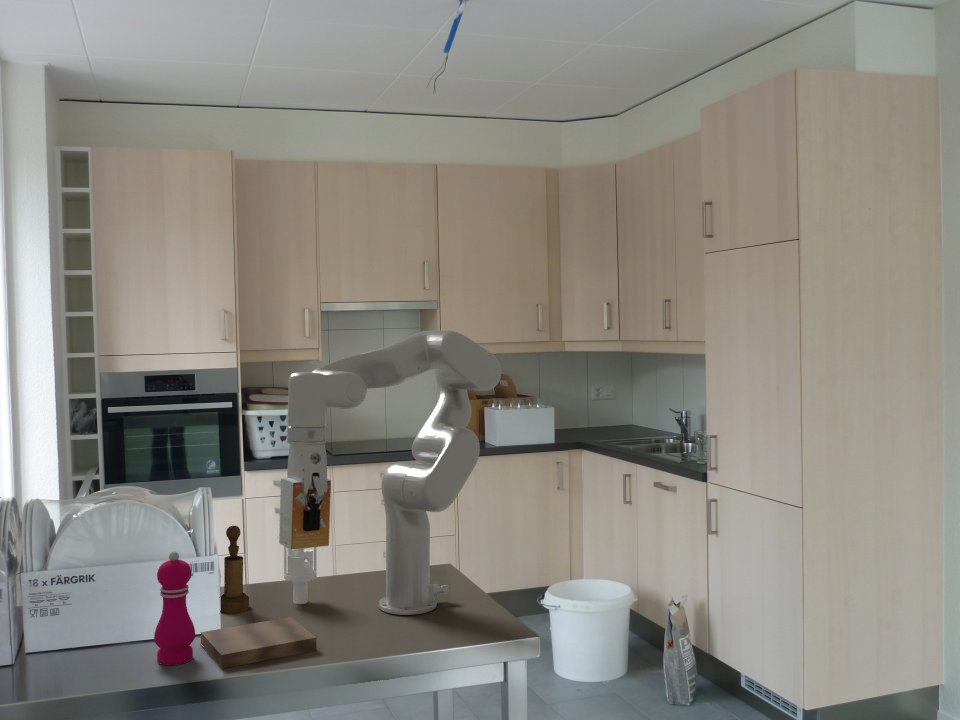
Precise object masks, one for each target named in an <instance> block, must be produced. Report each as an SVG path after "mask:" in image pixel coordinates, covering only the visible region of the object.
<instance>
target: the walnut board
mask: <svg viewBox="0 0 960 720" xmlns="http://www.w3.org/2000/svg"><path fill="white" fill-rule="evenodd" d="M201 644H202V645H203V646H204V648H205V649H206V650H207V652H208V653H209V654H210V655H211V656H210V655H209V654H208V653H207V654H208V655H209V656H210V658H212V660H213V659H214V660H213V661H214V662H215V663H216V664H217V666H219V668H220V669H227V668H232V667H238V666H242V665H249V664H252V663H258V662H264V661H270V660H274V659H278V658H285V657H289V656H296V655H299V654H304V653H310V652H316V651H317V637H316V636H315V635H314V634H313V633H311V632H310V631H309V630H308V629H306V628H305V627H304V626H303V625H302V624H300V623H299V622H298V621H297V620H295V619H294V618H293V617H291V616H287V617H281V618H275V619H269V620H265V621H260V622H253V623H248V624H242V625H241V624H240V625H236V626H229V627H224V628H218V629H211V630H207V631H206V630H205V631H200V645H201ZM204 648H203V649H204ZM205 649H204V650H205ZM206 650H205V651H206Z"/></svg>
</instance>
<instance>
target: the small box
mask: <svg viewBox="0 0 960 720" xmlns="http://www.w3.org/2000/svg"><path fill="white" fill-rule="evenodd" d="M331 489H332V481H331V479H329V478H327V493H326V494H324V496H323V498H322V502H321V510H320V529H319V530H315V531H304V530H303V514H304V510H306V508H305V496H304V495H302V491H301V482H299V481H297V480H294V479H292V478H287V477H282V478H280V496H279V497H280V502H279V503H280V504H279V506H280V507H279V533H278V534H279V538H278V539H279V544H280V545H281V546H283V547H284V546H285V547H287V548H289V549H293V550H294V549H299V548H307V549H311V548H310V547H312V548H314V547H316V548H318V547H329V545H330V529H331V528H330V526H331V525H330V524H331V498H332V497H331V492H332V491H331ZM308 492H309V493H308V494H310V493H314V490H308ZM312 498H314V497H311V498H309V501H311V499H312ZM287 548H286V549H287Z"/></svg>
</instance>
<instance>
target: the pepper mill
mask: <svg viewBox="0 0 960 720" xmlns="http://www.w3.org/2000/svg"><path fill="white" fill-rule="evenodd" d="M168 558H169V560H166V561H164V562H163V563H162V564H160V566H159V567H158V569H157V573H156V579H157V582H158V583H159V585H161V586H160V588H159V590H160V592H159V595H160V597H162V611H161V615H160V618H159V619H158V622H157V625H156V627H155V631H154V633H153V634H154V636H153V642H154V643H155V645H156V646H157V647H158V648H159V649H158V650H157V652H156V661H157V662H159V663H158V664H160V663H161V664H160V665H163V664H166V666H176V665H175V664H178V665H181V664H180V663H183V664H185V663H184V662H186V663H188V662H189V660H190V659H191V658H192V657H194V656H193V654H194V648H193V646H191V645H192V643H193V642H194V641H195V639H196V629H195V625H194V622H193V620H192V618H191V616H190V613H189V611H188V607H187V595H188V594H189V588H190V587H189V585H188V583H189V582H190V580H191V578H192V568H191V566H190V565H189V563H188V562H187V561H185V560H182V559H180V555H179V553H178V552H177V551H172V552H170V553H169V556H168ZM192 659H193V658H192ZM192 659H191V660H192ZM191 660H190V661H191ZM187 661H188V662H187Z"/></svg>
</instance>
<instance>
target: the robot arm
mask: <svg viewBox="0 0 960 720" xmlns="http://www.w3.org/2000/svg"><path fill="white" fill-rule="evenodd" d="M430 370H434V375H435V381H436V385H437V401H436V404H435V406H434V408H433V410H432V411H431V413H430V415H429V416H428V418H427V419H426V421H425V422H424V423H423V425H422V427H421V428H420V430H419V431H418V433H417V434H416V436H415V438H414V439H413V442H412V445H411V454H412V457H413V459H415V461H417V462H412V461H411V462H409V461H399V462H396V463H393V464H392V465H390V466H389V467H388V468H387V469H386V470H385V472H383V476H382V479H381V485H380V487H381V495H382V498H383V503H384V512H385V527H386V528H385V596H384V597H382V598H381V599H380V600H379V601H378V608H379V610H381V611H383V612H384V613H387V614H392V615H398V616H399V615H400V616H413V615H421V614H424V613H428V612H431V611H433V610H435V609H436V608H437V604H438V602H437V599H436V597H437V596H439V595H445V594H449V593H450V591H451V590H450V586H449V584H444V585H443V584H442V585H440V584H438V583H430V582H431V581H430V580H431V577H430V576H431V572H430V570H431V569H430V567H431V566H430V565H431V564H430V563H431V561H430V560H431V559H430V558H431V557H430V556H431V552H430V551H431V539H430V537H431V526H430V521H429V520H430V519H429V516H428V513H427V512H431V513H440V512H443V511H445V510H447V509H448V508H449V507H451V505H453V503H454V502H455V500H456V499H457V497H458V496H459V494H460V493H461V490H462V488H463V487H464V485H465V484H466V482H467V480H468V479H469V477H470V476H471V474H472V473H473V471H474V469H475V467H476V465H477V463H478V462H479V461H478V459H479V457H480V449H481V448H480V446H481V445H480V441H479V438H478V436H477V435H476V433H475V432H474V431H473V430H471V429H469V428H467V426H468V425H469V424H470V421H471V417H472V405H471V402H470V398H469V395H468V391H477V392H478V391H479V392H480V391H481V392H484V391H490V390H492V389H494V388H495V387H496V386H498V384H499V383H500V380H501V378H502V366H501V363H500V361H499V359H498V358H497V357H496V356H495V355H494V354H493V353H492V352H491V351H489V350H487V349H486V348H484V347H483V346H482V345H480V344H479V343H477V342H476V341H474V340H472V339H471V338H469V337H468V336H466V335H464V334H463V333H460V332H458V331H453V330H435V329H434V330H431V329H430V330H423V331H418V332H417V333H413V334H412V335H410V336H407V337H405V338H403V339H400V340H398V341H396V342H393V343H391V344H389V345H386V346H383V347H381V348H377V349H373V350H368V351H366V352H362V353H359V354H355V355H352V356H348V357H345V358H340V359H337V360H335V361H332V362H329V363H327V364H325V365H323V366H320V367H319V368H318V367H317V368H316V369H314V370H313V371H312V372H311V371H308V372H307V371H300V372H299V371H298V372H293V373H291V374H290V375H289V377H288V384H287V386H288V388H287V389H288V390H287V392H288V393H287V424H286V425H287V428H286V430H287V431H286V432H287V433H286V443H287V444H289V447H288V457H287V473H286V474H287V475H286V476H287V477H286V478H292V479H294V480H297V481H299V482H301V491H302V495H304V496H305V508H306V510H304V514H303V530H304V531H315V530H319V529H320V510H321V502H322V498H323V496H324V494H326V493H327V479H328V459H327V450H326V444H327V425H328V424H327V423H328V422H327V420H328V418H327V417H328V409H329V408H330V409H331V408H333V409H339V410H351V409H355V408H357V407H359V406H360V405H361V404H362V403H364V401H365V399H366V398H367V396H368V389H380V388H381V389H383V388H389V387H395V386H398V385H400V384H403V383H404V382H407V381H410V380H411V379H413V378H415V377H418V376H420V375H422V374H424V373H426V372H429V371H430ZM308 490H314V493H310V494H308V493H309V492H308ZM311 497H314V498H312V499H311V501H309V498H311Z"/></svg>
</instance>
